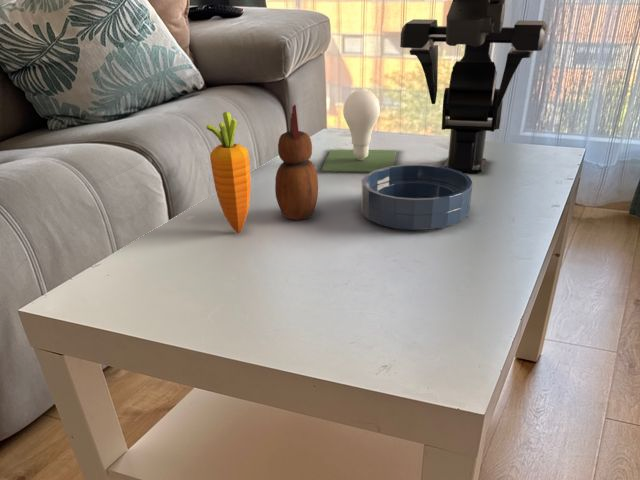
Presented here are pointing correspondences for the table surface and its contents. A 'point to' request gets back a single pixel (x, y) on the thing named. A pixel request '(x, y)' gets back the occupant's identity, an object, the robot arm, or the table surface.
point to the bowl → (416, 196)
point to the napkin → (358, 161)
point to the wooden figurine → (296, 173)
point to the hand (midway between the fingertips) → (465, 105)
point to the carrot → (231, 173)
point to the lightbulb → (361, 120)
